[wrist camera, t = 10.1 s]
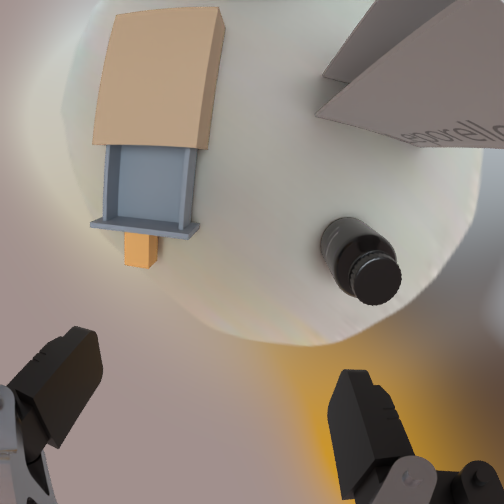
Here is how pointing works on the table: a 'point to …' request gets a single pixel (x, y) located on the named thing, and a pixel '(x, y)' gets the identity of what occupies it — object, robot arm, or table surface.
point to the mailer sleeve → (160, 78)
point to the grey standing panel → (424, 73)
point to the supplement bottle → (361, 261)
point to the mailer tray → (148, 197)
